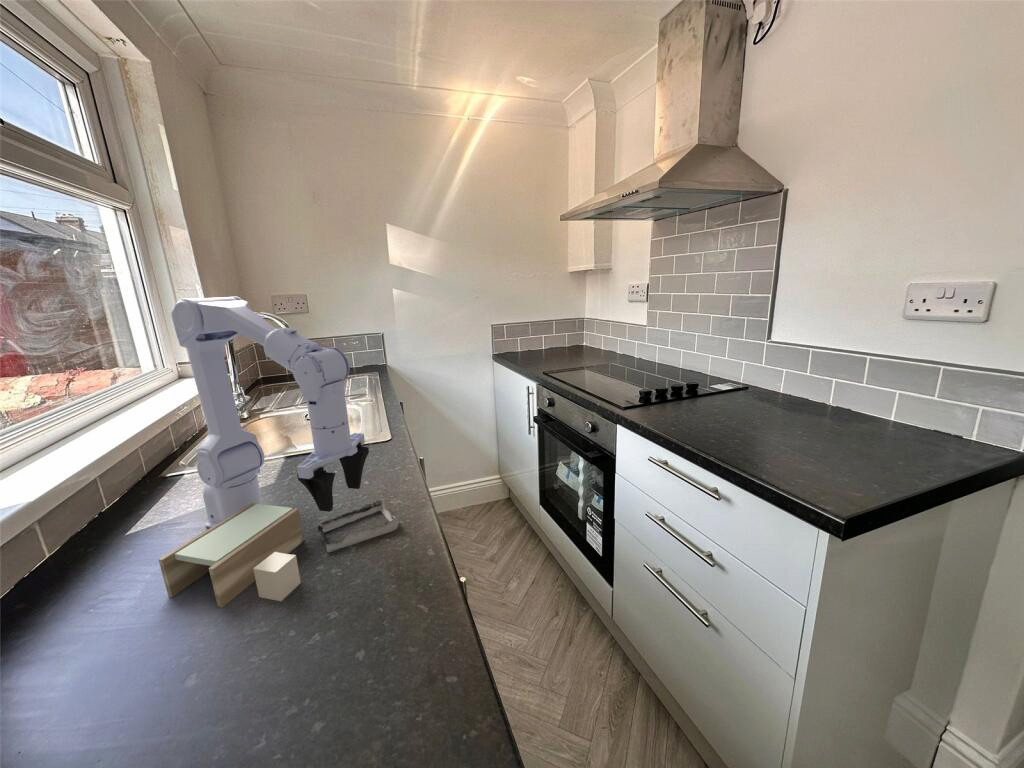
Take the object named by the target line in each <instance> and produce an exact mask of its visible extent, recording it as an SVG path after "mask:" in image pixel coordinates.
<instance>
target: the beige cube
mask: <svg viewBox="0 0 1024 768" xmlns="http://www.w3.org/2000/svg"><path fill="white" fill-rule="evenodd" d="M253 570H254V574H255V579H256V580H255V583H256V589H257V593H258V597H259V598H262V599H267V600H273V601H278V602H282V601H284V599H285V598H286V597H288V596H289V595H290V594H291V593H292V592H293V591H294V590H295V589H296V588H297V587H298V586H299V585H300V584H301V583H302V581H301V577H300V572H299V571H300V570H299V565H298V558H297V555H296V554H290V553H288V554H285V553H279V552H274V553H273V554H271V555H270V556H269V557H267V558H266V559H265V560H264V561H262V562H261V563H260V564H258V565H257V566H256V567H255V568H253Z"/></svg>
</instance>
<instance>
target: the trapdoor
mask: <svg viewBox="0 0 1024 768" xmlns="http://www.w3.org/2000/svg"><path fill="white" fill-rule="evenodd" d="M293 509H294V508H293V507H288V506H279V505H271V504H270V505H269V504H255V505H254V506H252V507H251V508H249V509H247V510H246V511H244V512H242V513H241V514H239V515H238V516H236V517H234V518H233V519H231V520H229V521H228V522H226V523H224V524H223V525H221V526H220V527H218V528H216V529H215V530H213V531H211V532H210V533H208V534H206V535H205V536H203V537H202V538H200V539H198V540H197V541H195V542H193V543H192V544H190V545H188V546H187V547H185V548H184V549H182V550H180V551H179V552H177V553H175V557H176V560H180V561H186V562H192V563H197V564H203V565H208V566H213V565H214V564H216V563H217V562H218V561H220V560H221V559H223V558H224V557H226V556H227V555H228V554H230V553H231V552H233V551H234V550H236V549H237V548H239V547H240V546H241V545H243V544H244V543H246V542H247V541H249V540H250V539H251V538H253V537H254V536H256V535H257V534H259V533H260V532H262V531H263V530H264V529H266V528H267V527H269V526H270V525H272V524H273V523H274V522H276V521H277V520H279V519H280V518H282V517H283V516H284V515H286V514H287V513H289V512H290V511H292V510H293Z"/></svg>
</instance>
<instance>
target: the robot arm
mask: <svg viewBox="0 0 1024 768" xmlns="http://www.w3.org/2000/svg"><path fill="white" fill-rule="evenodd" d="M170 315H171V320H172V323H173V327H174V330H175V334H176V337H177V341H178V344H179V346H180V347H182V348H185V349H186V351H187V355H188V359H189V360H188V361H189V363H190V366H191V370H192V374H193V378H194V382H195V385H196V389H197V392H198V396H199V400H200V404H201V407H202V412H203V415H204V418H205V422H206V427H207V431H208V435H207V437H206V438H205V440H203V442H201V443H200V445H199V446H198V447H197V448H196V450H195V452H196V457H197V465H196V469H197V475H198V476H199V478H200V479H201V481H202V482H203V483H204V484H205V485H204V488H203V492H202V497H203V502H204V507H205V510H206V515H207V519H208V522H206V523H205V524H204V527H206V528H211V527H213V526H214V525H216V524H218V523H219V522H221V521H223V520H224V519H226V518H228V517H229V516H231V515H233V514H234V513H236V512H238V511H239V510H241V509H242V508H244V507H246V506H247V505H249V504H251V503H255V504H263V500H262V499H263V498H262V493H261V488H260V483H259V477H258V475H259V474H261V469H260V468H262V467H263V465H264V464H265V453H264V450H263V447H261V445H260V443H259V441H258V437H257V435H256V434H255V433H253V432H251V431H250V430H249V431H248V430H246V429H243V428H242V424H241V419H240V417H239V416H240V415H239V412H238V409H237V404H236V400H235V396H234V392H233V388H232V384H231V380H230V376H229V373H228V368H227V364H226V360H225V356H224V352H223V349H224V348H225V346H226V344H227V343H229V342H230V341H232V340H233V339H235V337H237V336H238V335H241V336H243V337H245V338H247V339H249V340H251V341H253V342H255V343H257V344H259V345H260V346H262V347H263V351H264V354H265V355H266V357H268V358H269V359H270V360H272V361H274V362H275V363H277V364H279V365H280V366H281V367H283V368H285V369H286V370H288V371H290V372H291V373H292V376H293V378H294V380H295V382H296V384H297V385H298V386H299V389H300V391H301V397H303V399H304V400H305V401H306V404H307V412H308V419H309V424H310V430H311V436H312V444H313V451H312V452H311V453H310V454H309V455H308V457H306V458H305V459H304V461H303V462H302V463H300V464H298V465H297V466H296V470H297V474H296V476H297V481H299V482H300V483H301V484H302V485H303V486H304V487H305V488H306V489H307V490H308V492H309V494H310V495H311V496H312V498H313V500H314V502H315V504H316V506H317V509H318V511H320V512H321V511H322V512H328V513H329V512H331V511H333V509H334V498H333V497H334V495H333V485H334V480H335V476H336V473H335V472H329V471H327V470H326V469H324V468H325V467H327V466H328V465H330V464H331V463H333V462H334V461H337V460H339V462H340V464H341V467H342V470H343V474H344V479H345V480H344V481H345V483H346V486H347V488H348V489H353V490H358V489H360V488H361V484H362V477H363V470H364V466H365V463H366V460H367V457H368V455H369V452H370V451H369V446H364V444H365V443H366V439H365V433H363V432H362V433H361V432H353V433H351V430H350V429H351V428H350V424H349V416H348V415H349V413H348V408H347V401H346V399H347V398H346V394H345V387H344V385H345V384H344V381H346V379H348V377H349V374H350V362H349V360H348V357H347V356H346V354H344V352H343V351H342V350H340V349H339V348H338V347H336V346H331V347H324V346H320V345H319V343H317V342H316V341H312V340H310V339H308V338H307V337H305V336H302V335H301V334H300V333H298V329H295V328H294V327H292V326H291V327H279V328H276V327H275V326H273V325H272V324H271V323H269V322H268V321H266V320H265V319H264V318H263V317H262V316H260V315H259V314H257V313H256V312H254V311H253V310H252V308H251V305H250V303H249V301H247V300H244V299H243V298H241V297H239V296H237V295H230V296H223V297H203V298H201V297H197V298H186V297H182V298H179V299H178V300H177V301H176V302H175V305H174V306H173V308H172V311H171V313H170Z"/></svg>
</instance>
